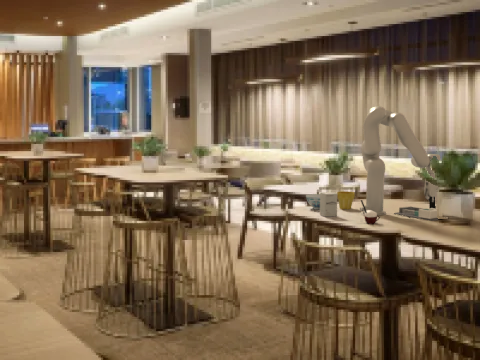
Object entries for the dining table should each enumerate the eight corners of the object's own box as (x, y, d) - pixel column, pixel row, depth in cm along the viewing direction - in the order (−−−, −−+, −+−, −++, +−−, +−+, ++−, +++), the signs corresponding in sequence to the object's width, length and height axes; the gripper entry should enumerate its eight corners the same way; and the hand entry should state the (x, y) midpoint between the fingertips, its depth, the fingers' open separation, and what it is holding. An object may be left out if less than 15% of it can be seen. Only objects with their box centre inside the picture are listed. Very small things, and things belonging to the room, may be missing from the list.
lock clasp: (429, 218, 317) (430, 211, 317) (418, 216, 324) (418, 209, 323) (442, 217, 323) (442, 209, 322) (431, 215, 329) (431, 208, 329)
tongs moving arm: (429, 214, 330) (429, 209, 330) (411, 211, 341) (412, 206, 340) (431, 214, 331) (431, 209, 331) (414, 211, 342) (414, 206, 341)
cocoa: (379, 222, 311) (379, 199, 309) (379, 224, 305) (380, 200, 303) (360, 221, 313) (360, 198, 312) (359, 223, 307) (360, 200, 305)
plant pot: (357, 209, 356) (358, 192, 355) (342, 210, 353) (342, 193, 352) (348, 206, 366) (348, 190, 365) (333, 207, 362) (333, 191, 361)
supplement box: (324, 216, 328) (325, 193, 327) (319, 214, 336) (319, 192, 334) (337, 216, 330) (337, 193, 329) (331, 214, 337) (332, 191, 336)
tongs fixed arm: (420, 216, 326) (420, 211, 326) (398, 212, 339) (398, 207, 339) (432, 215, 331) (432, 209, 331) (410, 211, 344) (410, 206, 344)
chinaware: (336, 208, 359) (336, 195, 358) (321, 211, 348) (322, 198, 347) (315, 206, 369) (315, 193, 368) (300, 208, 358) (301, 195, 357)
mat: (432, 220, 316) (432, 219, 316) (393, 214, 339) (393, 213, 339) (450, 218, 323) (450, 217, 323) (411, 212, 346) (411, 211, 346)
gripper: (429, 177, 331) (428, 210, 333) (447, 175, 339) (446, 208, 341) (418, 176, 337) (418, 209, 339) (436, 174, 345) (436, 206, 347)
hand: (432, 208), depth 340 cm, fingers closed
